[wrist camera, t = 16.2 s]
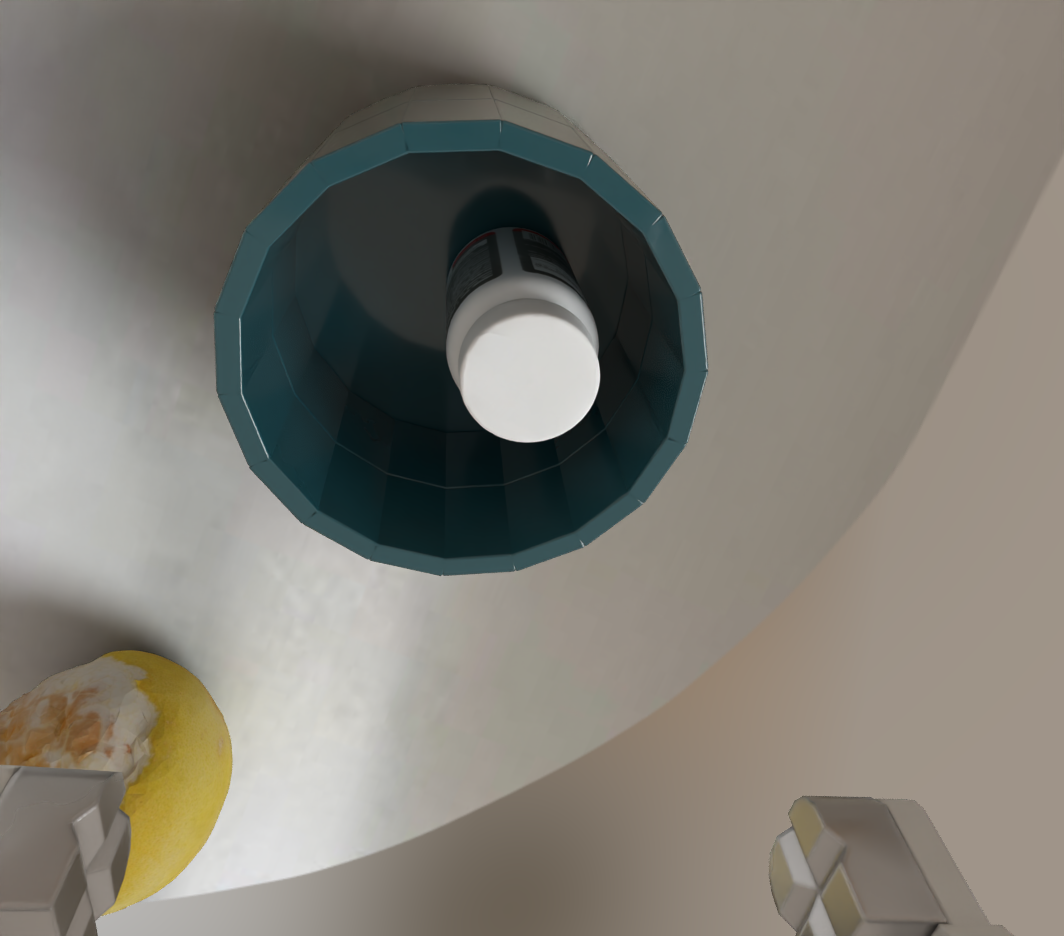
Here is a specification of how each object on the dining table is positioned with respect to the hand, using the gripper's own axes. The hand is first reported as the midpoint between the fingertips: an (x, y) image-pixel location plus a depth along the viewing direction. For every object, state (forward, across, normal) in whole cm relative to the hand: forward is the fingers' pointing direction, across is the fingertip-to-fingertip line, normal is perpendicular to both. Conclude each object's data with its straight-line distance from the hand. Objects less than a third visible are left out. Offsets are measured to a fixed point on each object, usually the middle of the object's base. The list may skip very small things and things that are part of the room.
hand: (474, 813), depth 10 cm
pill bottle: (+23, -2, +1) cm, 23 cm away
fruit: (+23, +13, +23) cm, 35 cm away
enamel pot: (+23, 0, +1) cm, 23 cm away
